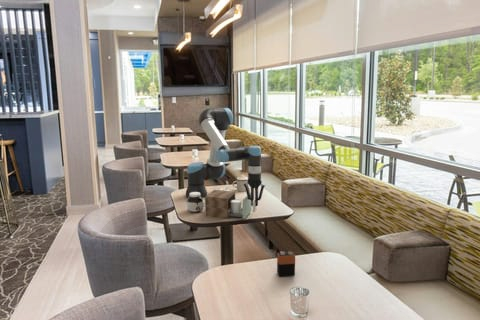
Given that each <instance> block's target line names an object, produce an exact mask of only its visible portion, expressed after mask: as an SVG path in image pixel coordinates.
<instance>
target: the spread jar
mask: <svg viewBox="0 0 480 320" xmlns="http://www.w3.org/2000/svg"><path fill="white" fill-rule="evenodd" d="M204 207H205V199H204V198H202V197H201V196H200V192H191V193H189V197H188V198H187V199H186V208H187V210H188V212H190V213H191V214H198V213H201V212H202V211H203V210H204Z"/></svg>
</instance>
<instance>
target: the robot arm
mask: <svg viewBox="0 0 480 320" xmlns="http://www.w3.org/2000/svg"><path fill="white" fill-rule="evenodd" d="M233 123H234V115H233V112H232V110H231V109H230V108H229V107H217V108H216V107H215V108H206V109H204V110H202V111H201V112H200V114H199V116H198V125H199V127H200V129H201V130H202V131H204V132H205V134H206V136H207V138H208V139H209V140H210V142H211V143H210V149H209V151H210V152H209V158H207V160H206V163H204V162H202V161H198V162H197V161H195V162H192V163H189V164H188V165H187V167H186V168H187V171H186V172H187V187H186V190H185V197H186V198H187V199H188V197H189V193H191V192H200V196H201V197H202V198H203V199H205V196H207V195H208V192H207V191H208V190H207V188H206V185H205V181H209V180H210V181H211V180H218V179H221V178H223V177H224V176H225V173H226V164H225V163H231V162H238V161H239V162H240V161H247V167H248V168H247V172H248V173H247V178H248V181H247V183H245V184H244V186H245V188H246V191H245V192H246V196H247V197H248V199H249V200H251V206H252V212H254V213H256V211H257V207H258V206H259V201H261V199H262V197H263V192H264V188H265V186H266V184H265V183H263V182H262V173H261V172H262V149H261V146H259V145H249V146H245V145H244V146H239V147H237V148H236V147H235V148H230V146H229V144H228V143H227V142H226V140H225V138H226V132H227V131H228V130H229V127H230V126H232V125H233ZM259 188H260V191H259ZM250 193H251V195H250Z"/></svg>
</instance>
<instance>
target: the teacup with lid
mask: <svg viewBox="0 0 480 320" xmlns="http://www.w3.org/2000/svg"><path fill="white" fill-rule="evenodd" d="M235 179H236V180H235V181H233V182H232V186H233V188H235V189H236V191H237V192H240V193H245V192H246V188H245V186H244V184H245V183H247V181H248V176H245V175H244V174H241V175H240V176H238V177H236V178H235ZM235 183H236V186H235Z"/></svg>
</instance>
